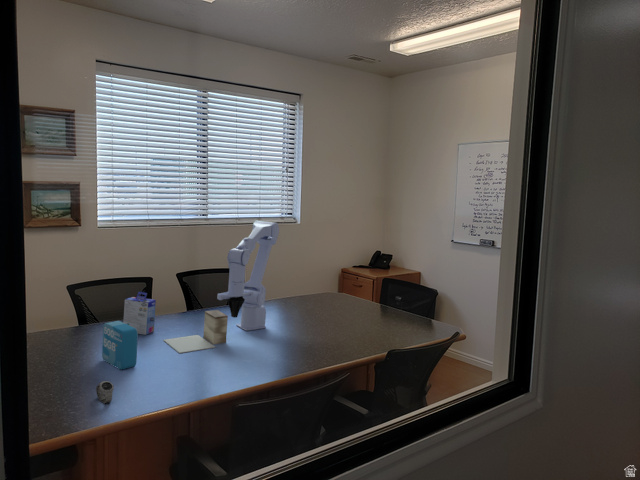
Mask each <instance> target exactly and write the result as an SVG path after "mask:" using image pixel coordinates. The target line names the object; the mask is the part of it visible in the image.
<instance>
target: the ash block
mask: <svg viewBox="0 0 640 480" xmlns="http://www.w3.org/2000/svg"><path fill="white" fill-rule="evenodd" d="M228 317H229V316H228V315H227V314H225V313H224V312H222V311H220V310H218V309H216V310H215V309H214V310H213V309H212V310H206V311H204V319H203V320H204V321H203V323H204V324H203V337H202V338H203V339H205V340H206V341H208V342H209V343H211V344H212V345H214V346H215V345H220V344H226V343H227V332H228V319H229V318H228Z"/></svg>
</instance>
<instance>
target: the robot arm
mask: <svg viewBox="0 0 640 480" xmlns="http://www.w3.org/2000/svg"><path fill="white" fill-rule="evenodd" d="M251 229H252V231H251V233H250V234H249V235H248V237H244V238H243V239H242V240H241V241H240V242H239V244H238V245H237V246H236V247H234V248H231V249H230V250H229V251H228V253H227V264H228V265H227V266H228V267H227V268H228V269H229V275H228V289H227V291H225V292H221V293H217V296H216V297H217V298H216V299H217V300H219V301H223V300H226V302H227V304H228V306H229V310H230V316H231V317H232V318H234V319H235V318H238V316H239V313H240V310H241V315H240V323H236V324H235V325H236V326H237V327H238V328H240V329H242V330H244V331H246V332H248V331H255V330H261V329H266V328H267V326H266V317H267V315H266V314H267V310H266V306H264V303H266V294H267V289H266V287H265V285H264V284H263V278H264V275H265V271H266V268H267V264H268V261H269V257H270V254H271V250H272V247H273V245H276V243H277V241H278V237H279V233H280V226H279V223H278V222H273V221H264V220H257V219H256V220H255V221H254V222H253V224H252V228H251ZM257 243H258V244H259V246H258V250H257V253H256V257H255V260H254V263H253V267H252V271H251V274H250V277H249V279H248V281H246V282H245V279H246V277H245V276H246V267H247V266H246V265H248V263H249V260H250V258H251V254H252V253H253V251H254V250H255V249H256V246H257Z"/></svg>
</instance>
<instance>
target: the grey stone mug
mask: <svg viewBox="0 0 640 480" xmlns="http://www.w3.org/2000/svg"><path fill="white" fill-rule="evenodd" d="M114 387H115V385H114V384H113V383H112V382H111V381H109V380H105V381H101V382H99V384H97V386H96V389H95V391H96V396H97V397H96V398H98V400H99V402H101V401H102V402H101V403H103V404H104V403H106V404H108V403H111V402H112V401H113V392H114Z"/></svg>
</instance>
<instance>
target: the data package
mask: <svg viewBox="0 0 640 480" xmlns="http://www.w3.org/2000/svg"><path fill="white" fill-rule="evenodd" d="M138 336H139V334H138V332H137V330H136V328H134V327H131V326H129V325H127V324H125V323H123V322H122V321H121V320H115V321H110V322H106V323H104V324H103V326H102V345H101V347H102V351H101V357H102V360H103V361H104V360H105V361H107V362H108V364H109V363H110V364H109V365H111V364H112V365H114V366H116V367H118V368H119V369H118V368H117V369H118V370H120V369H121V370H120V371H122V369H123V370H127V369H130V368H134V367H136V365H137V360H138V359H137V357H138V356H137V354H138V339H139V337H138ZM105 361H104V362H105ZM107 362H106V363H107ZM112 365H111V366H112ZM114 366H113V367H114ZM116 367H115V368H116ZM126 368H127V369H126Z"/></svg>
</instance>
